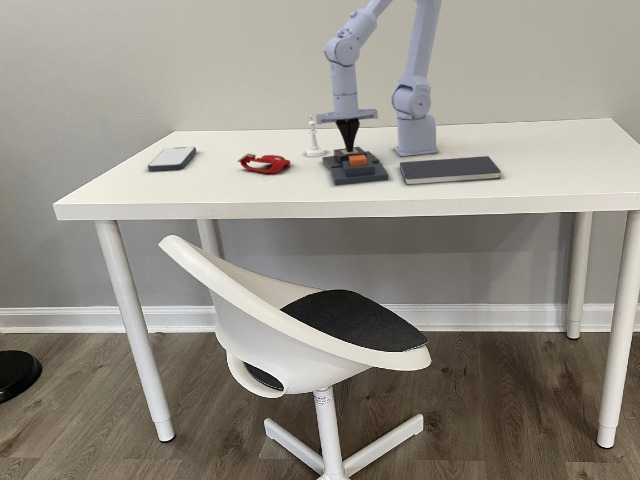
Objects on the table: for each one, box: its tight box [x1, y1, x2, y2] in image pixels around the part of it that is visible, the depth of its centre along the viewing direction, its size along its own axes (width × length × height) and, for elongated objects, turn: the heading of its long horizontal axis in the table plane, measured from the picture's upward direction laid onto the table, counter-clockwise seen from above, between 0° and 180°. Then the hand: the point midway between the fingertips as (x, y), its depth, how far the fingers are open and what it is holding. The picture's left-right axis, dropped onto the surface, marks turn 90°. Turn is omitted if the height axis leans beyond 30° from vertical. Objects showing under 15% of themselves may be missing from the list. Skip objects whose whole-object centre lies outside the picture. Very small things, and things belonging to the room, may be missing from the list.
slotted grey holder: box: [330, 159, 389, 186], centre depth 142 cm, size 12×9×3 cm
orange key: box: [349, 155, 367, 167], centre depth 141 cm, size 4×4×2 cm
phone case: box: [147, 146, 197, 172], centre depth 161 cm, size 9×2×16 cm
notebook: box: [399, 155, 501, 186], centre depth 142 cm, size 13×2×21 cm
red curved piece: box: [237, 153, 291, 174], centre depth 150 cm, size 12×4×10 cm
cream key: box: [341, 148, 359, 154], centre depth 151 cm, size 4×4×2 cm
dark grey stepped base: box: [321, 146, 380, 172], centre depth 152 cm, size 12×9×3 cm
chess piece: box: [305, 113, 326, 157], centre depth 160 cm, size 5×5×10 cm
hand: (349, 151), depth 151 cm, fingers closed, pressing on cream key
